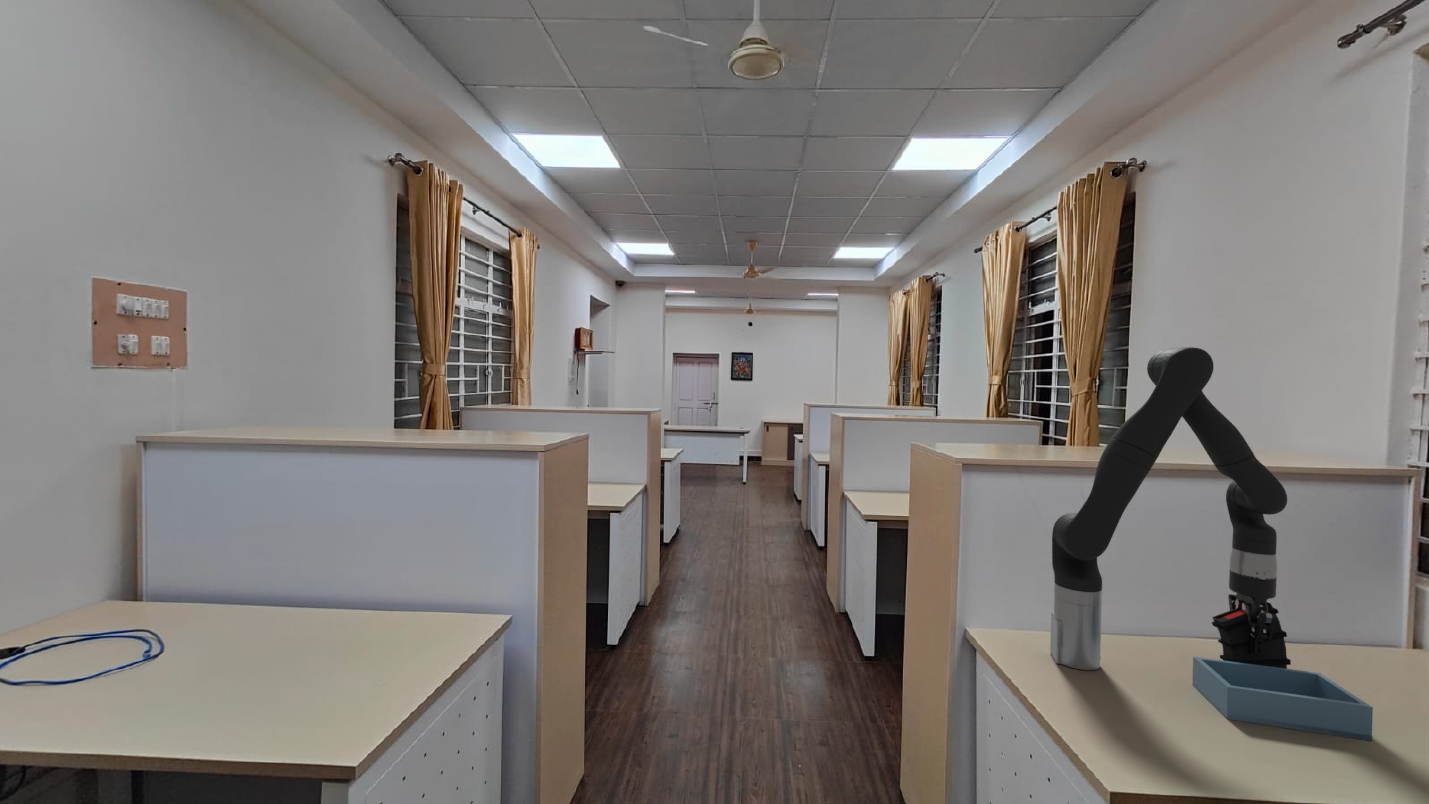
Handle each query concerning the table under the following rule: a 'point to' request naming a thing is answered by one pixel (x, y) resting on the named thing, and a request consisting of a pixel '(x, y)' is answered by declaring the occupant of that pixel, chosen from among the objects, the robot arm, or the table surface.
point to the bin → (1282, 698)
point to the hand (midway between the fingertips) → (1249, 650)
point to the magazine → (1237, 640)
